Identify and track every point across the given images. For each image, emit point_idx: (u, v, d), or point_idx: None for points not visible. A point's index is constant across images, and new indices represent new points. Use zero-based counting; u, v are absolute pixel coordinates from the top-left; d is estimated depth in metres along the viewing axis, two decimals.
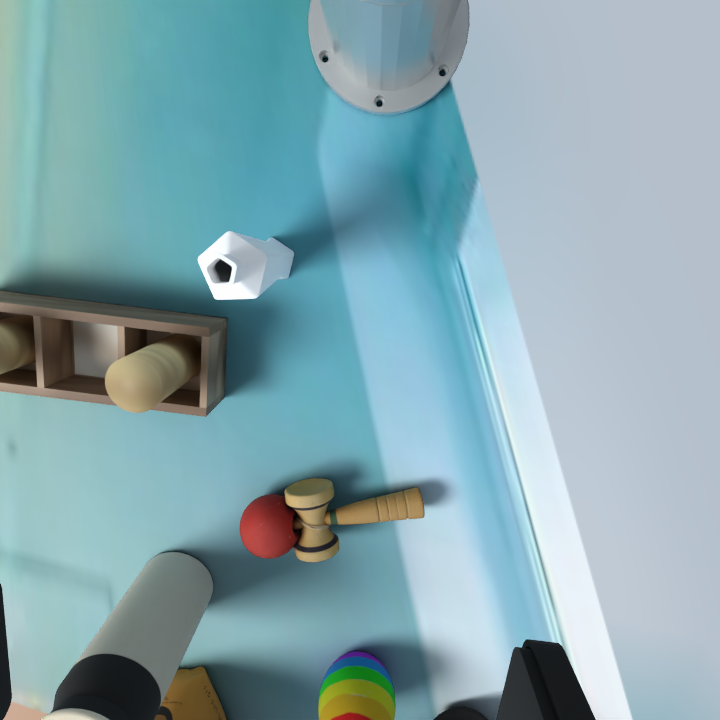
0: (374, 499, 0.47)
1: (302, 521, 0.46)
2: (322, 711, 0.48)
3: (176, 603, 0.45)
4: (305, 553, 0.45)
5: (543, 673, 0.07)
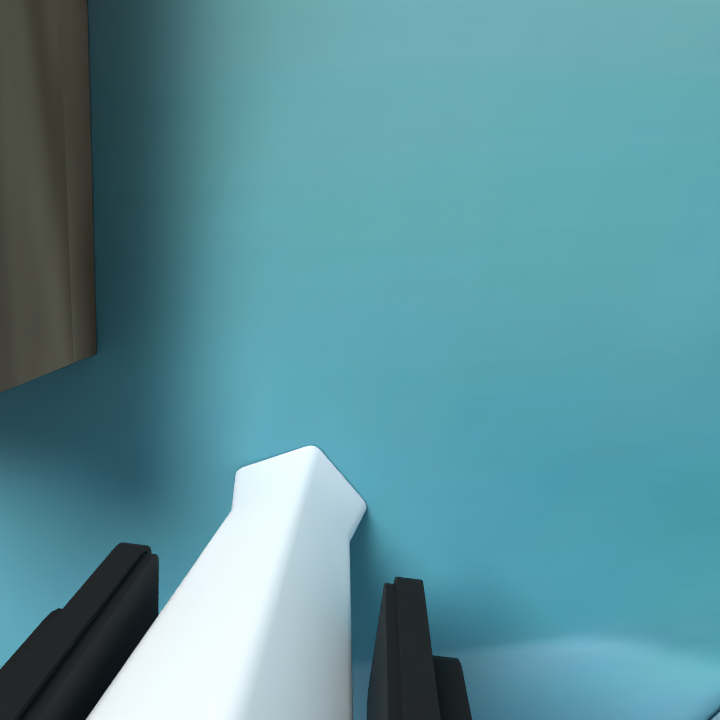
0: None
1: None
2: None
3: None
4: None
5: (398, 601, 0.08)
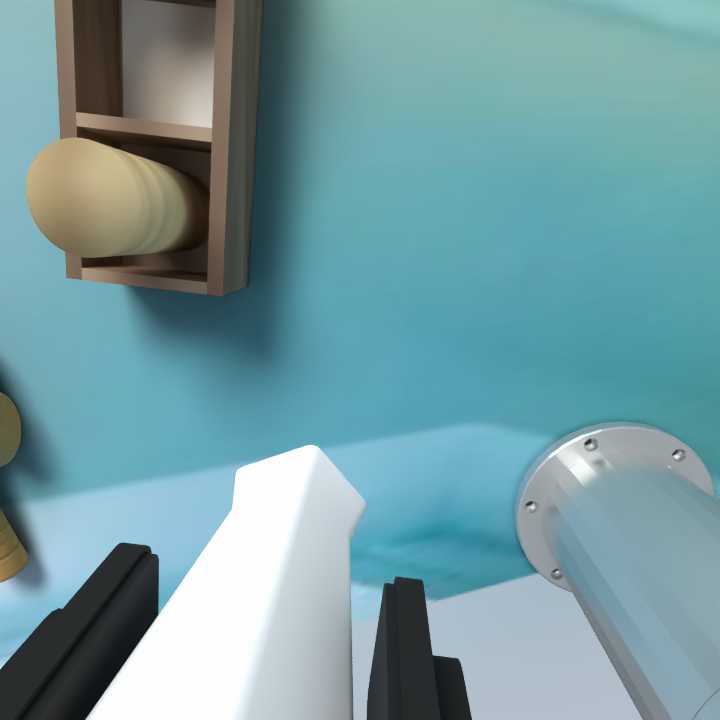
0: None
1: None
2: None
3: None
4: None
5: (398, 601, 0.08)
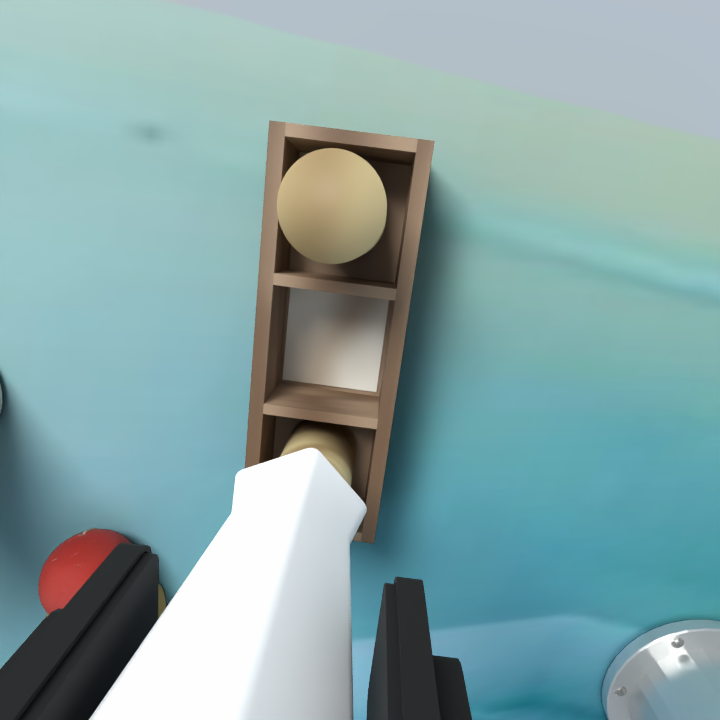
0: None
1: None
2: None
3: None
4: None
5: (398, 601, 0.08)
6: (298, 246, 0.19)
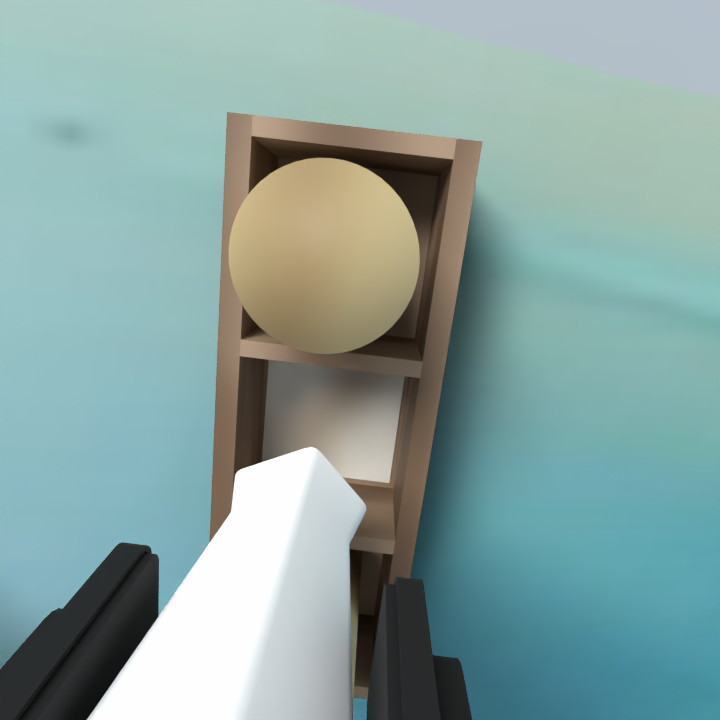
0: None
1: None
2: None
3: None
4: None
5: (398, 601, 0.08)
6: (267, 325, 0.11)
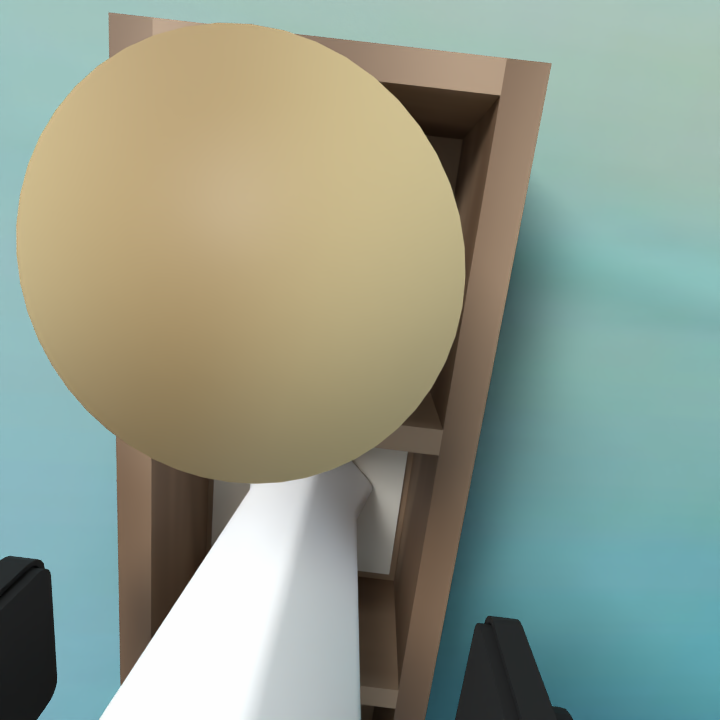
0: None
1: None
2: None
3: None
4: None
5: (500, 646, 0.08)
6: (121, 424, 0.05)
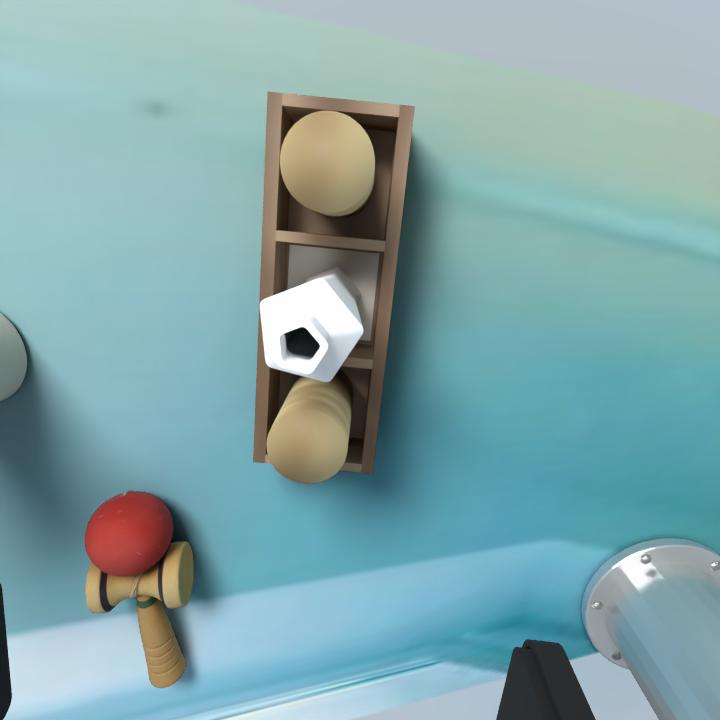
0: (170, 633, 0.39)
1: (140, 576, 0.36)
2: None
3: None
4: (97, 592, 0.35)
5: (543, 673, 0.07)
6: (299, 198, 0.22)
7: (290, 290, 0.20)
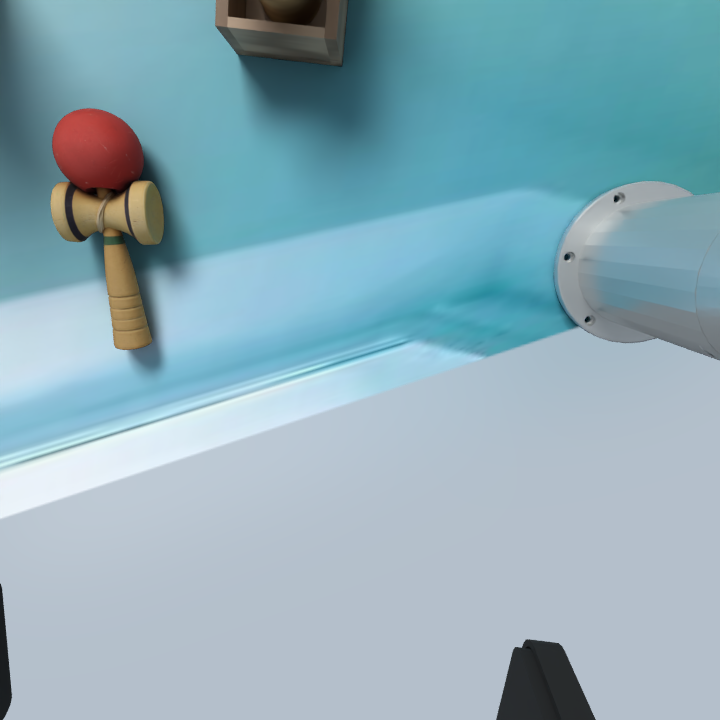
0: (137, 292, 0.39)
1: (108, 200, 0.36)
2: None
3: None
4: (62, 200, 0.34)
5: (543, 673, 0.07)
6: None
7: None
